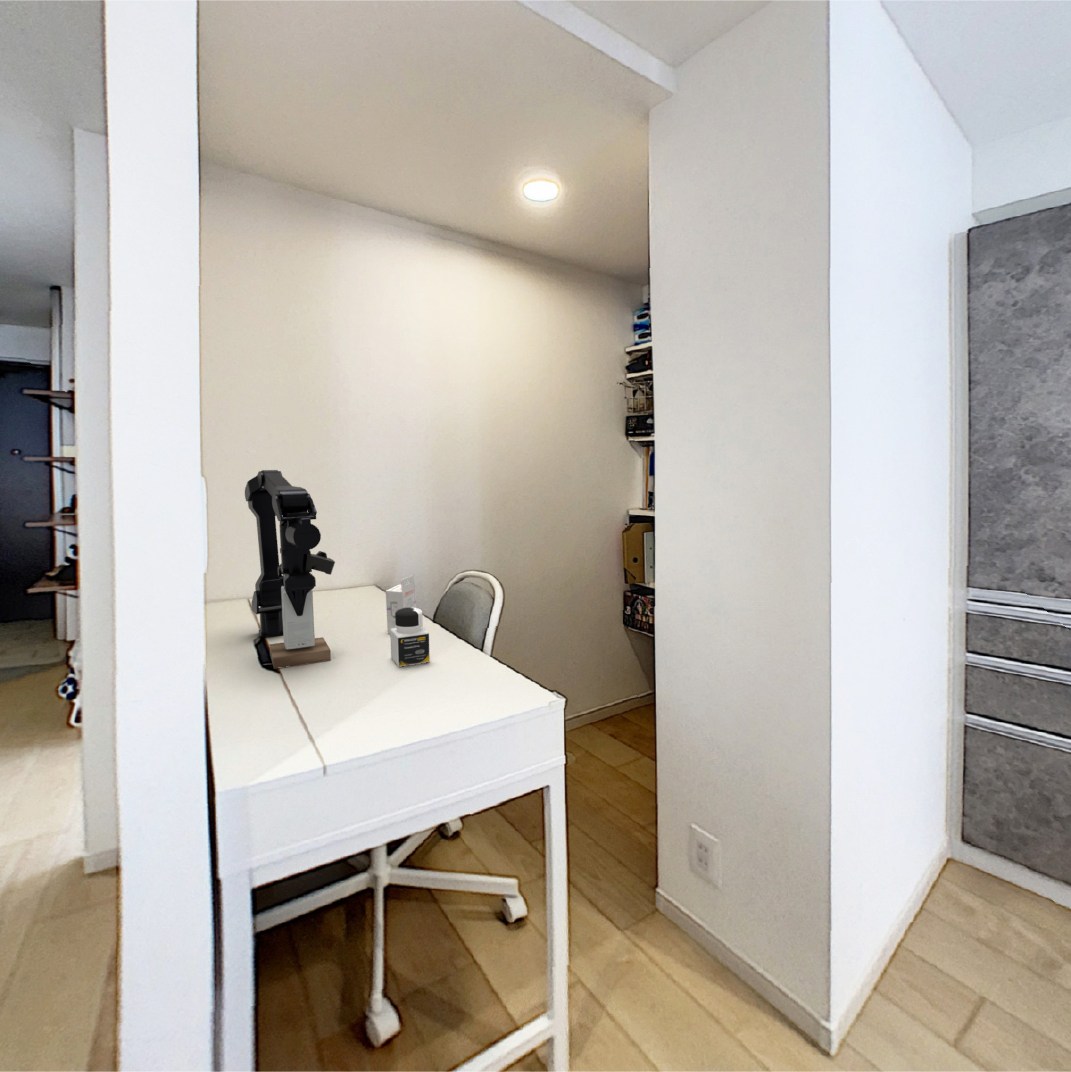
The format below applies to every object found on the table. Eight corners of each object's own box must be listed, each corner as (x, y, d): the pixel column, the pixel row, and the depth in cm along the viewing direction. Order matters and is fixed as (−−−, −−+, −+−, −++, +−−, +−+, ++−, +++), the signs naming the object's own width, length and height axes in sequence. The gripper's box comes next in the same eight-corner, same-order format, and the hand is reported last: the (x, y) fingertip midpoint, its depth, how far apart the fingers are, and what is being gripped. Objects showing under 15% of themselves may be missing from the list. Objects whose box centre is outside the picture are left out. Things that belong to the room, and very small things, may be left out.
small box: (315, 646, 136) (312, 590, 134) (285, 650, 133) (282, 593, 131) (311, 636, 143) (309, 583, 141) (283, 640, 140) (280, 585, 138)
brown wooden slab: (270, 654, 140) (269, 644, 140) (323, 647, 146) (323, 637, 146) (274, 669, 131) (273, 658, 130) (331, 660, 136) (330, 649, 136)
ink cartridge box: (400, 625, 165) (398, 573, 163) (416, 626, 164) (415, 573, 162) (386, 634, 157) (384, 579, 155) (404, 635, 156) (402, 580, 154)
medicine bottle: (398, 667, 132) (397, 614, 130) (390, 658, 138) (389, 607, 136) (430, 662, 135) (428, 611, 133) (420, 653, 141) (419, 604, 140)
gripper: (338, 547, 130) (341, 616, 133) (324, 537, 147) (327, 599, 149) (283, 551, 125) (287, 623, 127) (275, 540, 142) (279, 604, 144)
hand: (297, 611), depth 137 cm, fingers closed on small box, 8 cm apart
